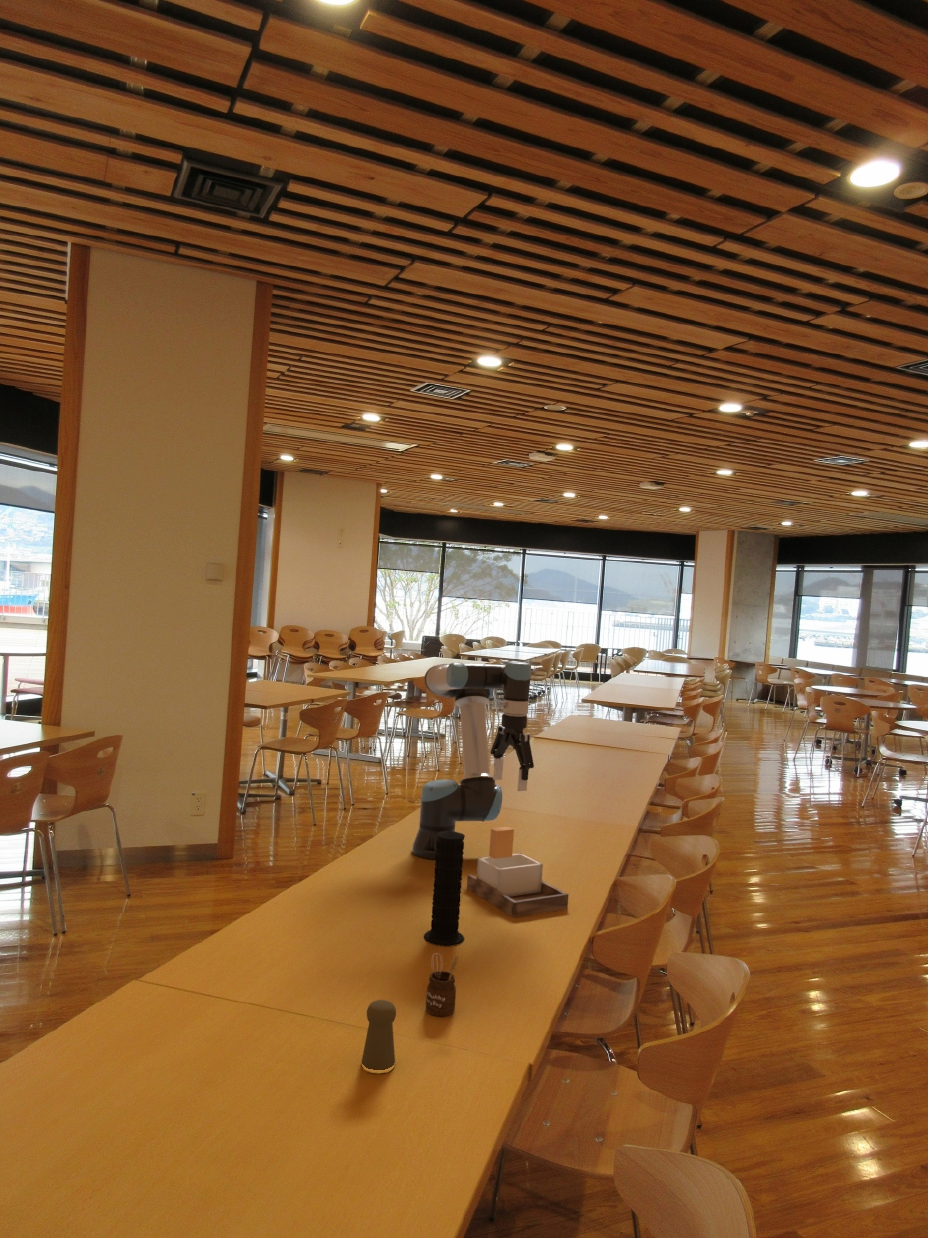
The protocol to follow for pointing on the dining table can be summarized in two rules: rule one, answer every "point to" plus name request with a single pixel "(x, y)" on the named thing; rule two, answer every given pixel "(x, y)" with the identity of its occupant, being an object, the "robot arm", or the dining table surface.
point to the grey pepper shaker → (379, 1036)
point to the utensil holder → (441, 991)
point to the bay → (521, 899)
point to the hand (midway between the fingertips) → (509, 785)
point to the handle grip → (447, 890)
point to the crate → (509, 866)
